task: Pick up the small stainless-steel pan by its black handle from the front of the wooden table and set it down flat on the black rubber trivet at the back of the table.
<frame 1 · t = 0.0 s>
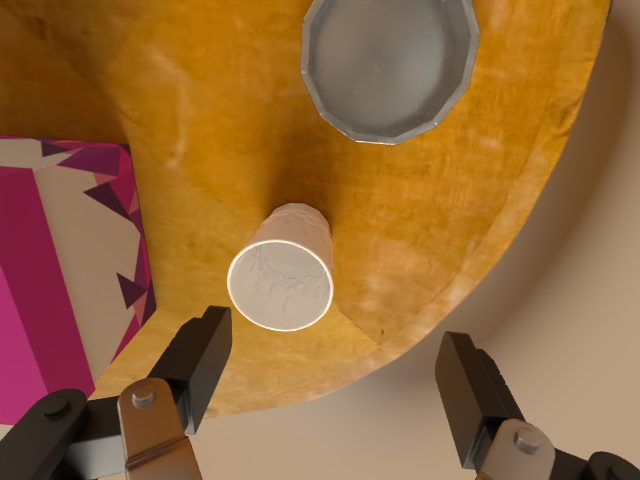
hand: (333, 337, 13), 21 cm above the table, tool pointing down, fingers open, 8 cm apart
white cup: (297, 233, 35), on the table
decorative box: (59, 227, 36), on the table
steel pan: (381, 58, 28), on the table
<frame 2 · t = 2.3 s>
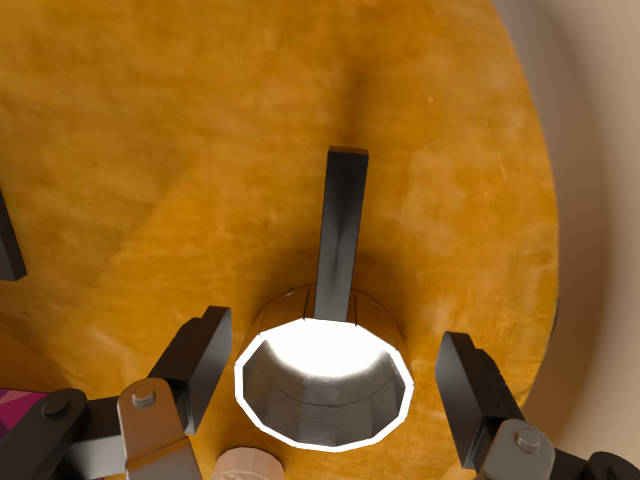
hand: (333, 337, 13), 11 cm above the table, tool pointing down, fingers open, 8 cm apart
white cup: (251, 466, 34), on the table
decorative box: (12, 449, 36), on the table
steel pan: (325, 349, 27), on the table
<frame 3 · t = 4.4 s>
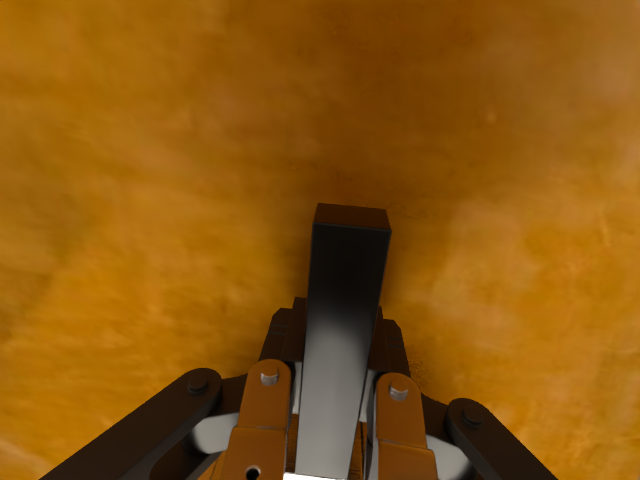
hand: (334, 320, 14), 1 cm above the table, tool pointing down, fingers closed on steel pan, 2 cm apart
steel pan: (317, 468, 19), on the table, touching gripper
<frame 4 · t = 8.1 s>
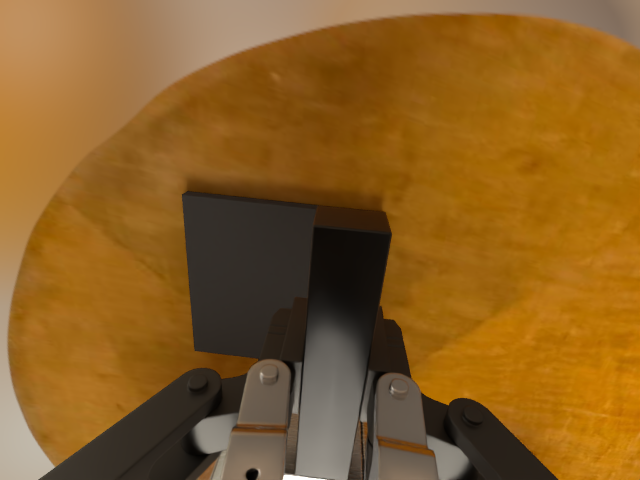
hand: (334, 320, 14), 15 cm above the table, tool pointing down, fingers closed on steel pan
steel pan: (317, 469, 19), point 15 cm above the table, touching gripper
trivet: (280, 285, 32), on the table
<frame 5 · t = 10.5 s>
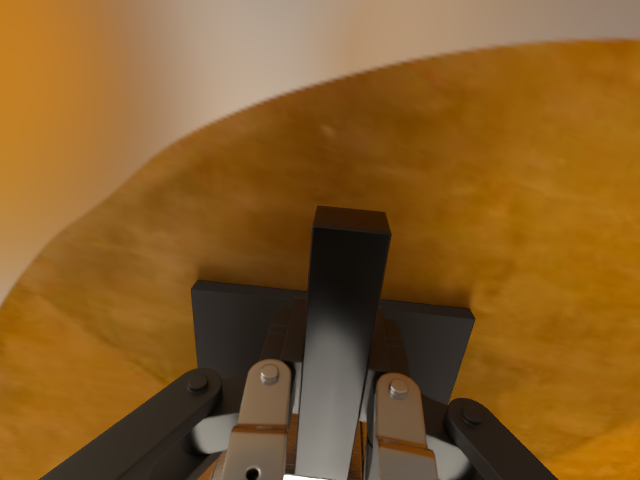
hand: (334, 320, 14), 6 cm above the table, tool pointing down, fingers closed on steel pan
steel pan: (317, 469, 19), point 5 cm above the table, touching gripper
trivet: (321, 393, 24), on the table
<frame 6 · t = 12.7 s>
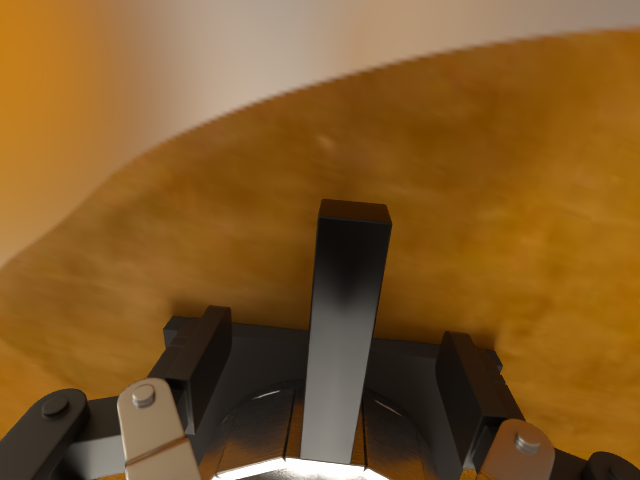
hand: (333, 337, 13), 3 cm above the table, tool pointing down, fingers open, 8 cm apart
steel pan: (320, 458, 20), point 1 cm above the table, touching trivet
trivet: (319, 441, 20), on the table
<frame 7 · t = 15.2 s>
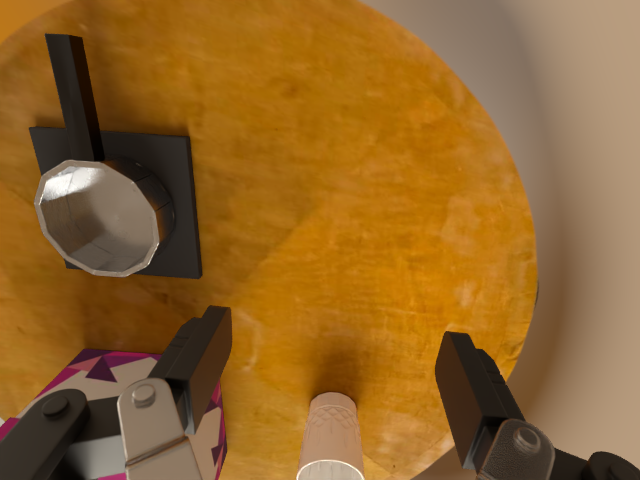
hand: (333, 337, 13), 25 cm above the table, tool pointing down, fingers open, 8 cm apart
white cup: (333, 407, 49), on the table
decorative box: (161, 401, 51), on the table
steel pan: (121, 209, 38), point 1 cm above the table, touching trivet
trivet: (125, 206, 39), on the table
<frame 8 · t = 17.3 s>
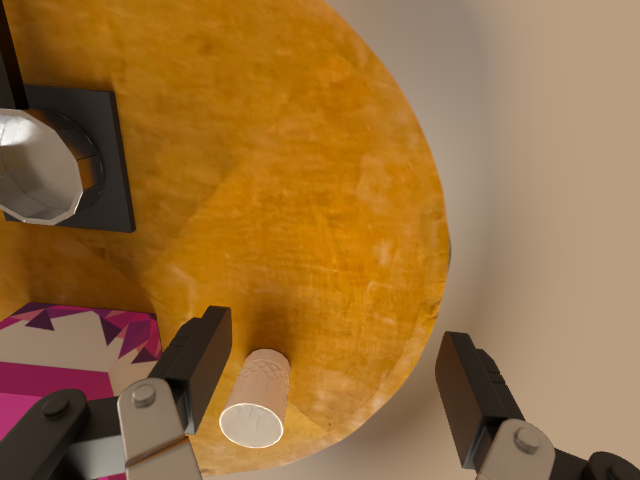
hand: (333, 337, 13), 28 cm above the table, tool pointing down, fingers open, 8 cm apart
white cup: (268, 364, 52), on the table
decorative box: (106, 356, 53), on the table
steel pan: (53, 162, 40), point 1 cm above the table, touching trivet
trivet: (59, 160, 41), on the table
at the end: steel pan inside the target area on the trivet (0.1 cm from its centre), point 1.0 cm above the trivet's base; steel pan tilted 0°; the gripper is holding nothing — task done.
